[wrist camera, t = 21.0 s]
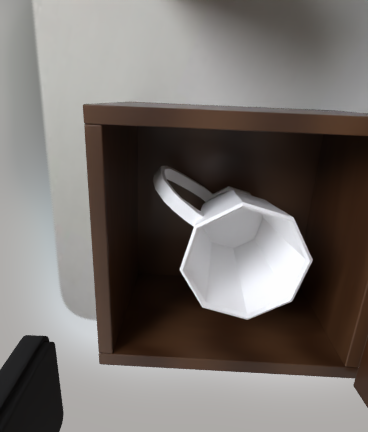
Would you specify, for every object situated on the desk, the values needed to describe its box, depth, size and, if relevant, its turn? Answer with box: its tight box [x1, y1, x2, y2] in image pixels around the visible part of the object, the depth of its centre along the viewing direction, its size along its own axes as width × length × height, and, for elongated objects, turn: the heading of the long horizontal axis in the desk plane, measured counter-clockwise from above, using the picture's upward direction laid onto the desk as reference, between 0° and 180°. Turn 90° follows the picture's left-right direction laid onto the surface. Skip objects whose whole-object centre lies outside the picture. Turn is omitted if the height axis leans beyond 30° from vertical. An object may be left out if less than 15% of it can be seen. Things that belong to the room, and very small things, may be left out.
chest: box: [83, 102, 368, 378], centre depth 21 cm, size 15×14×10 cm
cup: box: [153, 166, 313, 320], centre depth 21 cm, size 7×10×8 cm
